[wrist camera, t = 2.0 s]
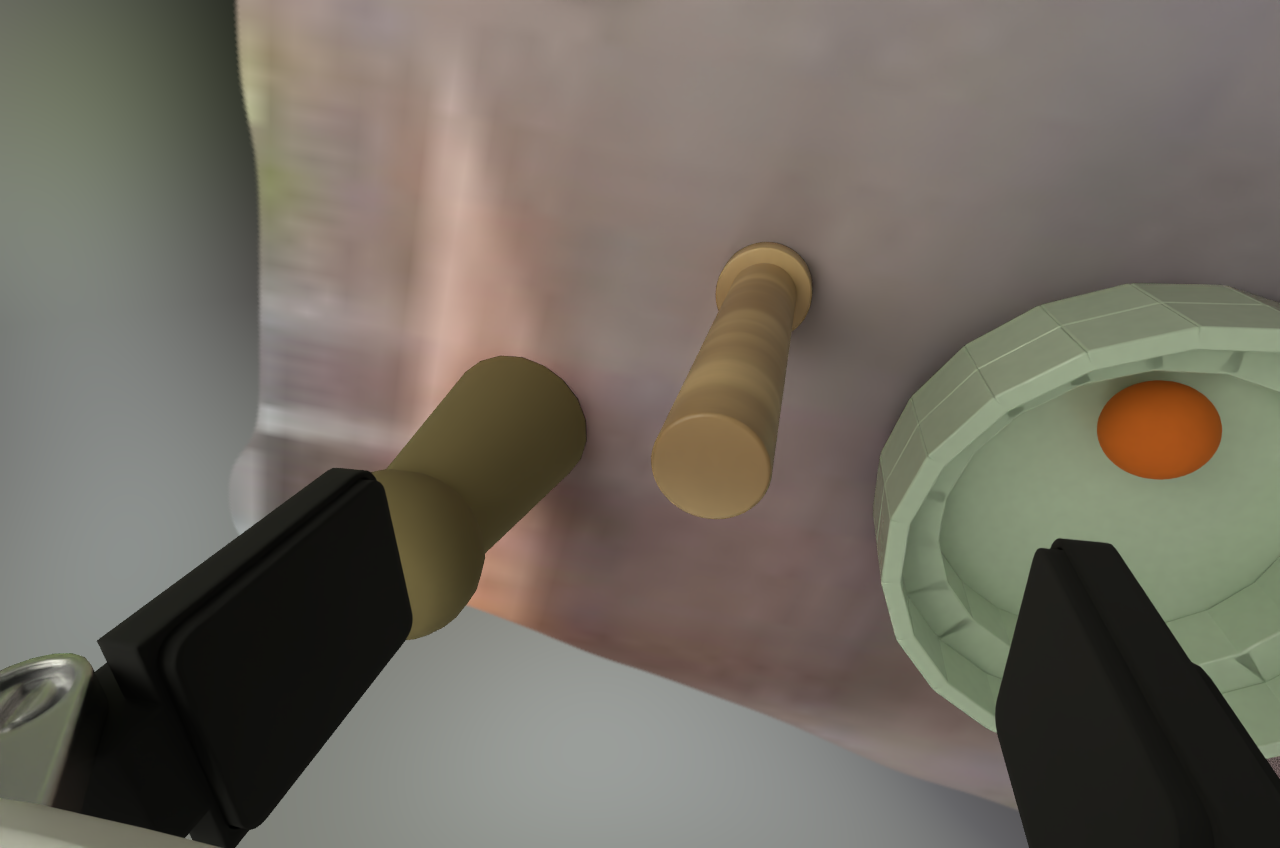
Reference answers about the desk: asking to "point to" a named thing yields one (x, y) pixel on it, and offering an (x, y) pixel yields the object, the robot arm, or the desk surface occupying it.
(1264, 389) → the bowl
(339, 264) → the desk surface
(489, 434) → the cork
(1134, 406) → the ball
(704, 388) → the muddler
